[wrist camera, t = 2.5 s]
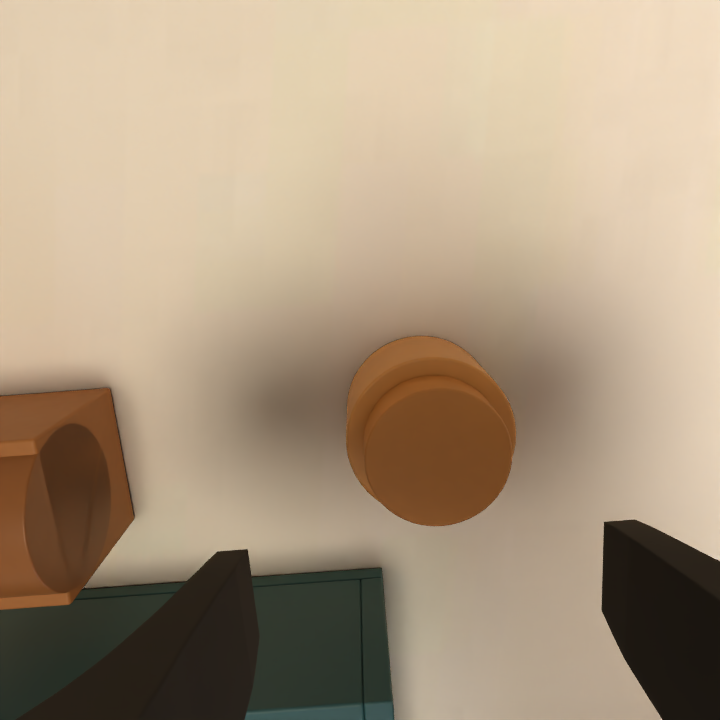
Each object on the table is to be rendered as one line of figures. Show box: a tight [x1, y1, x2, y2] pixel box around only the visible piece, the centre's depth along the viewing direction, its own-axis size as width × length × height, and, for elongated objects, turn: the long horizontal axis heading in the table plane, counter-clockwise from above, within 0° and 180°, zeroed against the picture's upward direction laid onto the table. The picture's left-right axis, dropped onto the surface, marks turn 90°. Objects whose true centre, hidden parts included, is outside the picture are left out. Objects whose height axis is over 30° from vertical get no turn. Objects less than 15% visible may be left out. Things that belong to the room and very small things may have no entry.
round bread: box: [346, 336, 516, 526], centre depth 17 cm, size 5×5×5 cm
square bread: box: [0, 388, 134, 610], centre depth 17 cm, size 5×5×6 cm
